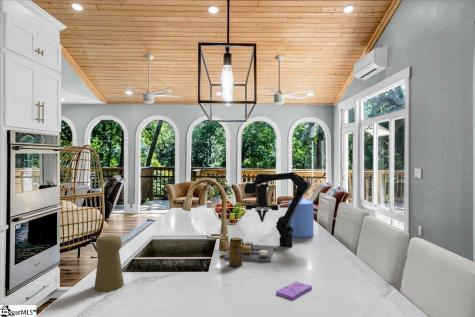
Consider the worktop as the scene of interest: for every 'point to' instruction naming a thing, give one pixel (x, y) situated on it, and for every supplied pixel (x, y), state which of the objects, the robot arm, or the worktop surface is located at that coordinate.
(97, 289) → the cork
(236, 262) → the condiment
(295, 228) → the water jug
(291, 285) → the sponges
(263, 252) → the button
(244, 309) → the worktop surface
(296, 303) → the worktop surface
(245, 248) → the slider
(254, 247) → the panel
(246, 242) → the slider
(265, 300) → the worktop surface
